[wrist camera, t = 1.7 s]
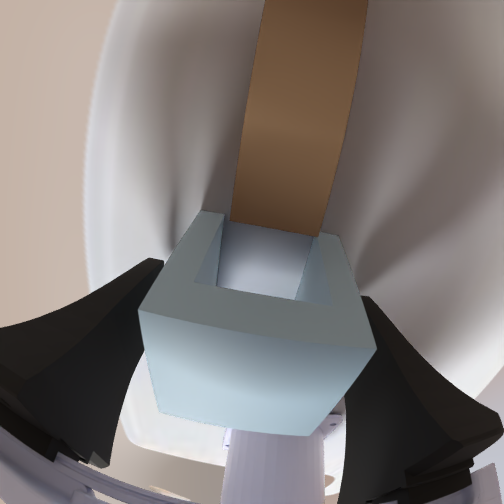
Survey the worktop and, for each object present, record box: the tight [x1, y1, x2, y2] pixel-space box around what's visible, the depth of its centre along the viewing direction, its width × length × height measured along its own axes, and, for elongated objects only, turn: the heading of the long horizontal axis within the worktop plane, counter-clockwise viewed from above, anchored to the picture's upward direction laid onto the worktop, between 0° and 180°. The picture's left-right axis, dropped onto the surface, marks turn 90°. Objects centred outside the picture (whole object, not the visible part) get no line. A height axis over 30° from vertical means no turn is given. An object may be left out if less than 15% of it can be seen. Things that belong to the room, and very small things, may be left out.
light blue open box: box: [138, 210, 377, 436], centre depth 9 cm, size 5×5×6 cm
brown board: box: [229, 0, 368, 237], centre depth 5 cm, size 12×2×3 cm, turn 171°
